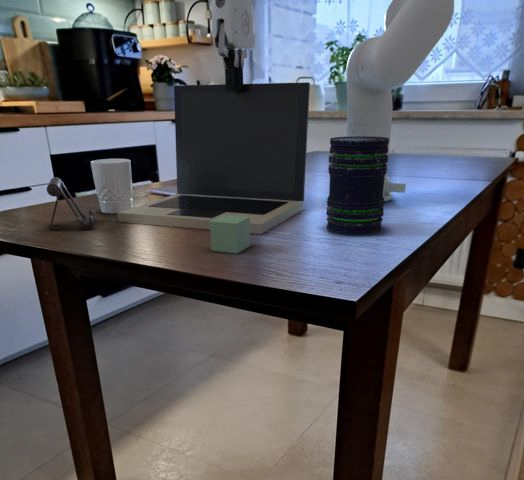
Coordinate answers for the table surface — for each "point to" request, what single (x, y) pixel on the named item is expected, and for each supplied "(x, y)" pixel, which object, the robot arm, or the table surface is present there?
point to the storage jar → (356, 185)
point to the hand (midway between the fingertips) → (234, 90)
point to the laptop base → (211, 211)
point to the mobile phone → (165, 190)
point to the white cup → (113, 184)
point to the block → (230, 234)
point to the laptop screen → (242, 140)
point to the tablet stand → (56, 190)
